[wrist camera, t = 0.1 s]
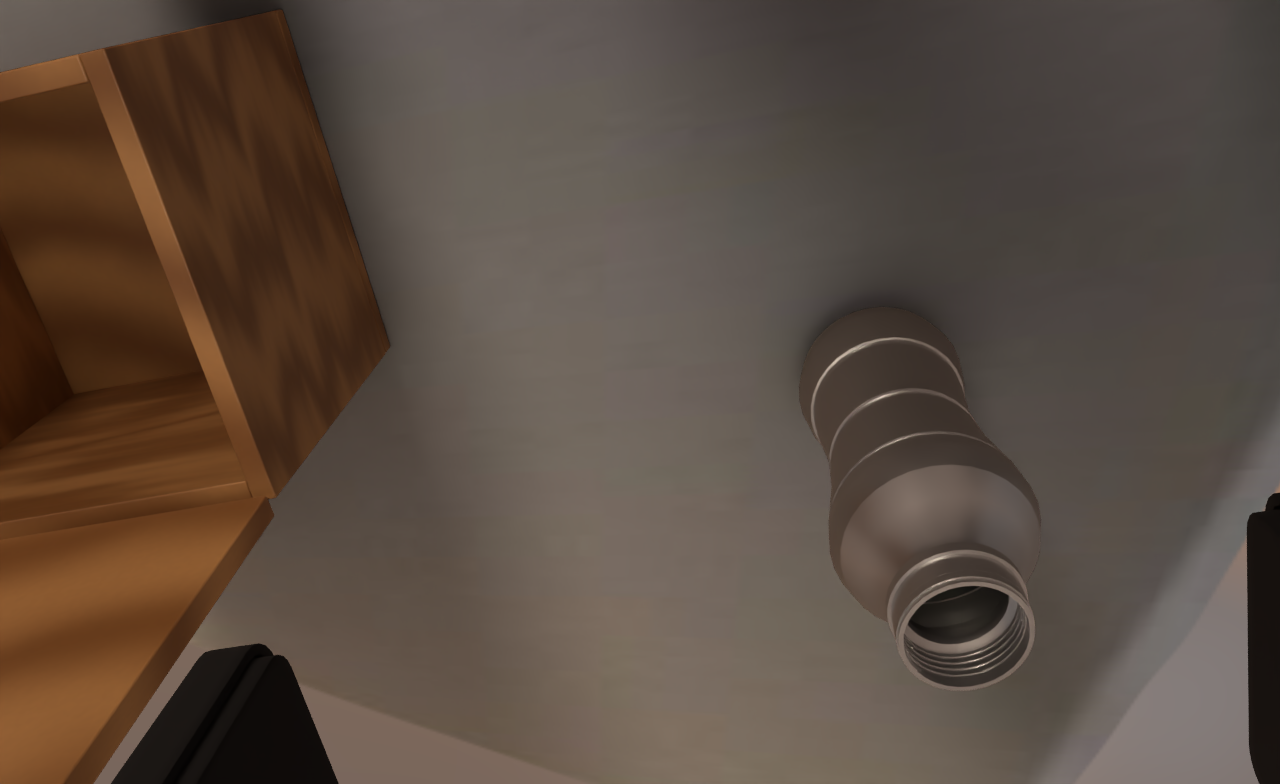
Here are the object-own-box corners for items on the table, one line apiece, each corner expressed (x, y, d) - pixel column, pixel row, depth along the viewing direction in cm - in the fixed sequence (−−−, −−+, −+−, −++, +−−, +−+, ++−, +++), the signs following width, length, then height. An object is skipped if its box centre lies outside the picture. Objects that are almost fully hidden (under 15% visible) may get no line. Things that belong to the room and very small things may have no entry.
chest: (-66, 90, 46) (-366, 158, 34) (282, 8, 44) (103, 48, 31) (74, 405, 52) (-138, 567, 39) (391, 347, 50) (276, 498, 37)
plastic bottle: (766, 344, 48) (795, 607, 30) (905, 262, 47) (1025, 489, 28) (841, 457, 50) (911, 769, 32) (978, 382, 48) (1135, 668, 30)
